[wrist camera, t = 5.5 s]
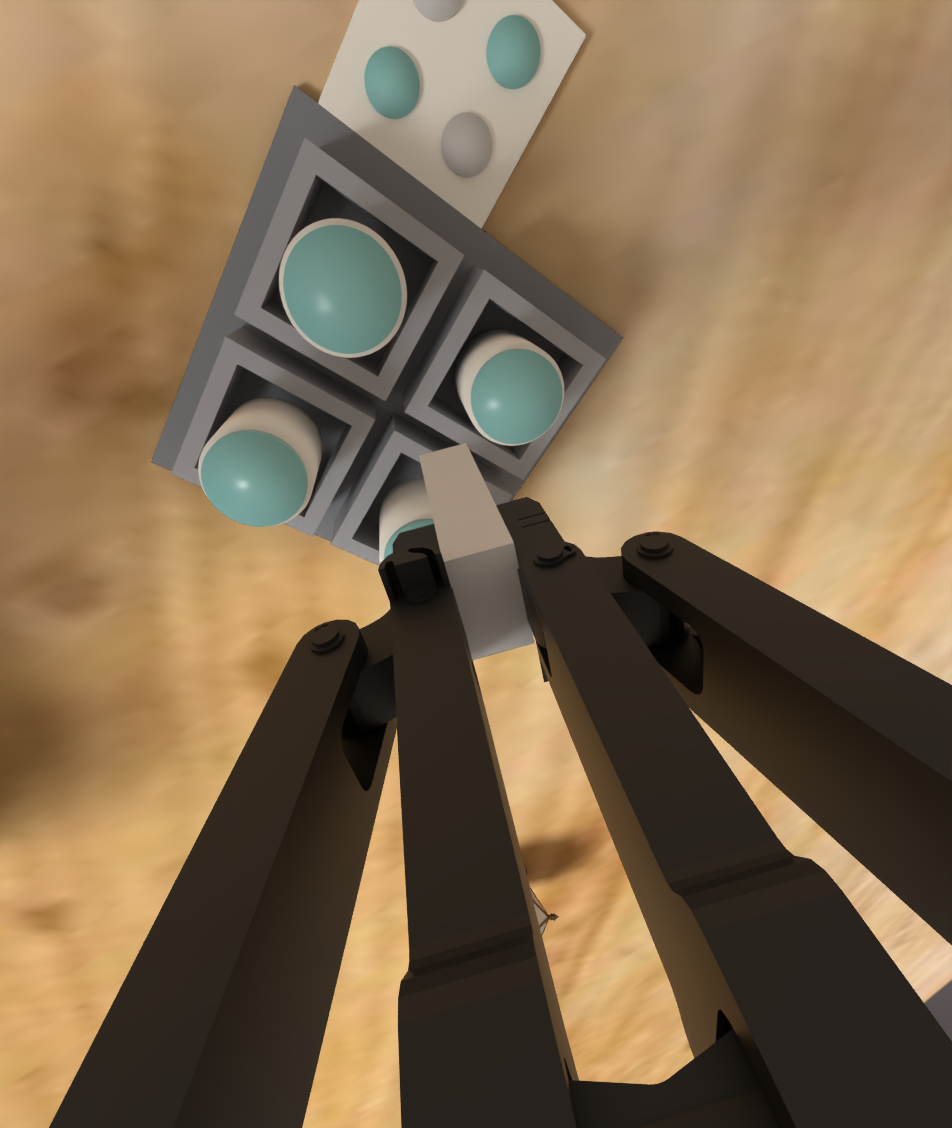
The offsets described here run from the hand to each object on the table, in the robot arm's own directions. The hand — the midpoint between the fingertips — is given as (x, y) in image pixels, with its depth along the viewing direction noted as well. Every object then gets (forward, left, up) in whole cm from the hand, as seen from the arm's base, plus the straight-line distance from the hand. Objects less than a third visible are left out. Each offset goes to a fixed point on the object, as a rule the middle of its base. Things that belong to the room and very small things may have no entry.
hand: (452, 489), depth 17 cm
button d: (-5, -5, -10) cm, 13 cm away
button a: (+3, +3, -12) cm, 13 cm away
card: (-5, +12, -14) cm, 19 cm away
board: (-1, -1, -14) cm, 14 cm away
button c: (-5, +3, -10) cm, 12 cm away
